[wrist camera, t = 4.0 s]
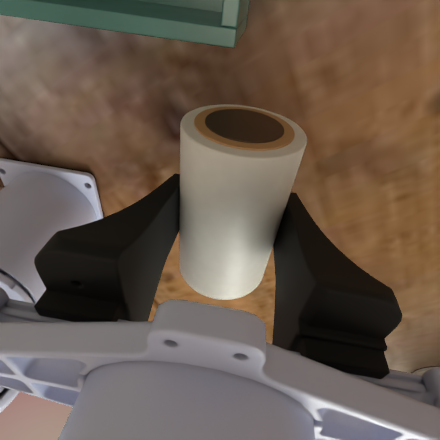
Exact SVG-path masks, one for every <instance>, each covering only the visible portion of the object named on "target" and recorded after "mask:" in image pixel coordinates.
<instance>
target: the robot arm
mask: <svg viewBox="0 0 440 440" xmlns="http://www.w3.org/2000/svg"><path fill="white" fill-rule="evenodd" d="M0 178H1V180H2V182H3V184H4V186H5V187H4V188H2V189H1V190H0V413H1V412H2V411H3V410H4V409H5V408H6V407H7V406H8V405H9V404H10V403H11V401H12V400H13V399H14V398H15V397H16V396H17V394H18V393H19V392H23V393H26V394H30V395H33V396H37V397H40V398H44V399H47V400H50V401H54V402H57V403H61V404H65V405H68V406H71V407H73V408H72V410H71V413H70V415H69V417H68V419H67V421H66V424H65V425H64V427H63V430H62V432H61V434H60V436H59V438H58V440H440V367H434V368H430V369H428V370H427V371H425V372H424V373H423V374H422V375H418V374H412V373H407V372H401V371H396V370H391V369H389V368H388V365H387V361H386V358H385V355H384V351H386V350H387V346H386V343H385V339H384V338H385V337H386V336H388V335H389V334H390V333H391V332H392V331H393V330H394V329H395V328H396V327H397V326H398V324H399V323H400V322H401V319H402V313H401V310H400V308H399V305H398V302H397V299H396V297H395V295H394V293H393V291H392V289H391V288H389V287H388V286H386V285H384V284H383V283H381V282H380V281H378V280H377V279H375V278H373V277H372V276H370V275H369V274H368V273H366V272H365V271H364V270H362V269H361V268H360V267H358V266H357V265H356V264H354V263H353V262H352V261H351V260H350V259H348V258H347V257H346V256H345V255H344V254H343V253H342V252H341V251H340V250H338V249H337V248H336V247H335V246H334V244H333V243H332V242H331V241H330V240H329V239H328V238H327V237H326V236H325V235H324V234H323V232H322V231H321V230H320V229H319V227H318V226H317V225H316V223H315V222H314V221H313V219H312V218H311V216H310V215H309V213H308V212H307V210H306V209H305V207H304V205H303V204H302V202H301V200H300V199H299V197H298V196H297V194H296V193H290V196H289V199H288V202H287V205H286V208H285V211H284V214H283V217H282V220H281V223H280V226H279V229H278V232H277V235H276V238H275V241H274V244H273V248H274V261H275V275H276V292H275V313H274V329H273V343H272V344H269V343H267V342H266V325H265V323H264V322H263V321H262V320H261V319H260V318H258V317H257V316H256V315H254V314H251V313H249V312H246V311H242V310H236V309H231V308H225V307H220V306H214V305H209V304H203V303H198V302H192V301H187V300H169V301H166V302H164V303H161V304H159V306H158V308H157V311H156V314H155V316H154V319H153V321H148V318H149V315H150V311H151V308H152V304H153V300H154V297H155V293H156V290H157V287H158V283H159V280H160V277H161V274H162V270H163V267H164V264H165V262H166V259H167V256H168V254H169V252H170V250H171V247H172V245H173V243H174V241H175V238H176V236H177V234H178V232H179V217H180V174H174V175H173V176H171V177H170V178H169V179H168V180H166V181H165V182H164V183H163V184H161V185H160V186H159V187H158V188H156V189H155V190H154V191H152V192H151V193H150V194H148V195H147V196H145V197H144V198H142V199H141V200H139V201H138V202H136V203H134V204H133V205H131V206H129V207H127V208H125V209H123V210H121V211H119V212H117V213H114V214H112V215H110V216H107V217H105V218H104V217H103V213H102V208H101V204H100V200H99V195H98V191H97V187H96V182H95V179H94V177H93V175H91V174H90V173H87V172H81V171H75V170H69V169H63V168H57V167H51V166H45V165H39V164H33V163H27V162H21V161H15V160H9V159H3V158H0ZM87 183H88V184H90V185H91V186H90V185H88V184H87Z"/></svg>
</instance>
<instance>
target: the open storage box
mask: <svg viewBox="0 0 440 440" xmlns="http://www.w3.org/2000/svg"><path fill="white" fill-rule="evenodd" d="M249 1H250V0H0V15H7V16H14V17H20V18H27V19H34V20H41V21H48V22H55V23H62V24H69V25H76V26H83V27H90V28H97V29H104V30H110V31H117V32H124V33H131V34H138V35H145V36H152V37H159V38H166V39H173V40H180V41H187V42H194V43H200V44H207V45H214V46H221V47H228V48H235V46H236V44H237V43H238V41H239V39H240V38H241V36H242V34H243V32H244V31H245V29H246V23H247V16H248V8H249Z"/></svg>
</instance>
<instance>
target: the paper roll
mask: <svg viewBox="0 0 440 440" xmlns="http://www.w3.org/2000/svg"><path fill="white" fill-rule="evenodd" d="M306 144H307V137H306V134H305V132H304V131H303V129H302V128H301V127H300V126H298V125H297V124H296V123H294V122H293V121H291V120H290V119H288V118H286V117H284V116H282V115H279V114H277V113H274V112H271V111H268V110H264V109H260V108H256V107H250V106H243V105H231V104H221V105H209V106H204V107H200V108H197V109H194V110H192V111H190V112H188V113H187V114H185V116H184V117H183V118H182V120H181V124H180V217H179V268H180V272H181V274H182V276H183V278H184V280H185V281H186V282H187V284H188V285H189V286H190V287H191V288H193V289H194V290H195V291H197V292H198V293H200V294H202V295H204V296H207V297H210V298H214V299H220V300H229V299H236V298H240V297H243V296H245V295H247V294H249V293H250V292H252V291H253V290H254V289H255V288H256V287H257V286H258V285H259V284H260V282H261V280H262V278H263V275H264V272H265V269H266V265H267V262H268V259H269V256H270V253H271V250H272V247H273V244H274V241H275V238H276V235H277V232H278V229H279V226H280V223H281V220H282V217H283V214H284V211H285V208H286V205H287V202H288V199H289V196H290V193H291V190H292V187H293V184H294V181H295V177H296V174H297V171H298V168H299V165H300V162H301V159H302V156H303V153H304V150H305V147H306Z"/></svg>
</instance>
